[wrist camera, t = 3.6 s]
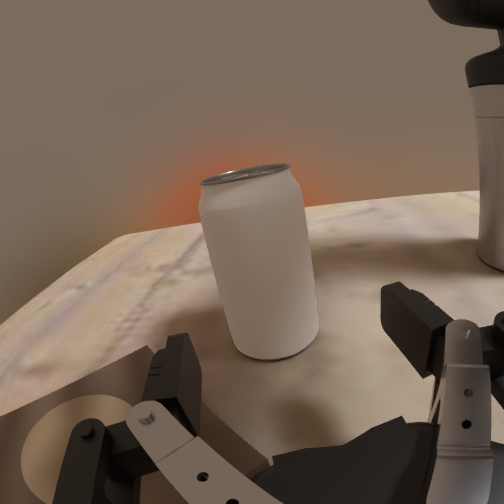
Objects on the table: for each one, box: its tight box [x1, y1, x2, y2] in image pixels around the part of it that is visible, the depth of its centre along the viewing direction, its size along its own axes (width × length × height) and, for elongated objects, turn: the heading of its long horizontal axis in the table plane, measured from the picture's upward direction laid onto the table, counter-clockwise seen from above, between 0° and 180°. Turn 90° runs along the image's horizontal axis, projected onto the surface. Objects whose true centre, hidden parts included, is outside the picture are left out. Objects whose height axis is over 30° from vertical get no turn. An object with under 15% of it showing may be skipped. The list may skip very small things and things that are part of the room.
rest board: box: [0, 345, 270, 504], centre depth 12 cm, size 16×14×1 cm
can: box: [199, 163, 319, 360], centre depth 20 cm, size 6×6×12 cm
